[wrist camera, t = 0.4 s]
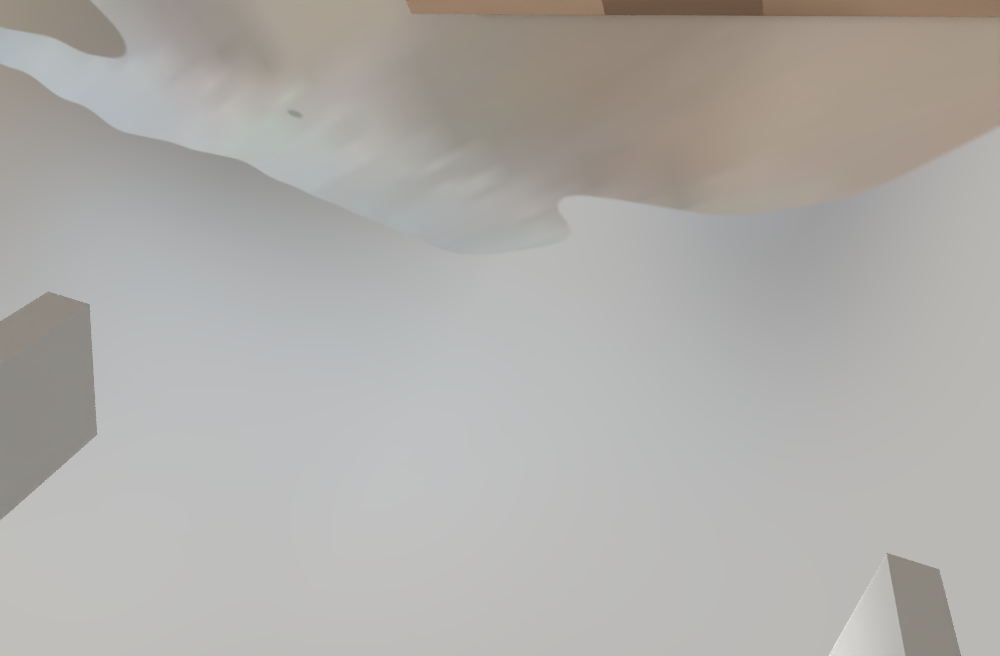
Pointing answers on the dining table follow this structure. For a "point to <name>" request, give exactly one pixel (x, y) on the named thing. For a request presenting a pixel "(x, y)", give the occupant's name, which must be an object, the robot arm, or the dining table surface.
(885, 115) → the dining table surface
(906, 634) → the robot arm
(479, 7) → the trap board
